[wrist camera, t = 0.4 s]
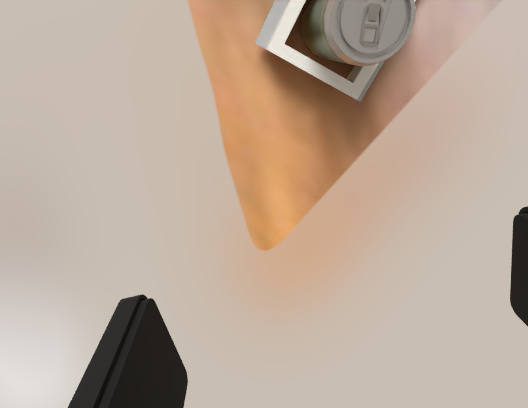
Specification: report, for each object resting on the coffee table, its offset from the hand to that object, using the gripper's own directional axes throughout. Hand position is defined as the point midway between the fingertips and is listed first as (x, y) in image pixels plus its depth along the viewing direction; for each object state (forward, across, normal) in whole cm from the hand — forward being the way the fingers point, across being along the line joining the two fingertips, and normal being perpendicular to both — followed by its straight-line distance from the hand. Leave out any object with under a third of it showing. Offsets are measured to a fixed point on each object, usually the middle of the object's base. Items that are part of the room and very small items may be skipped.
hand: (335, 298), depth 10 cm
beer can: (+28, -7, -6) cm, 30 cm away
